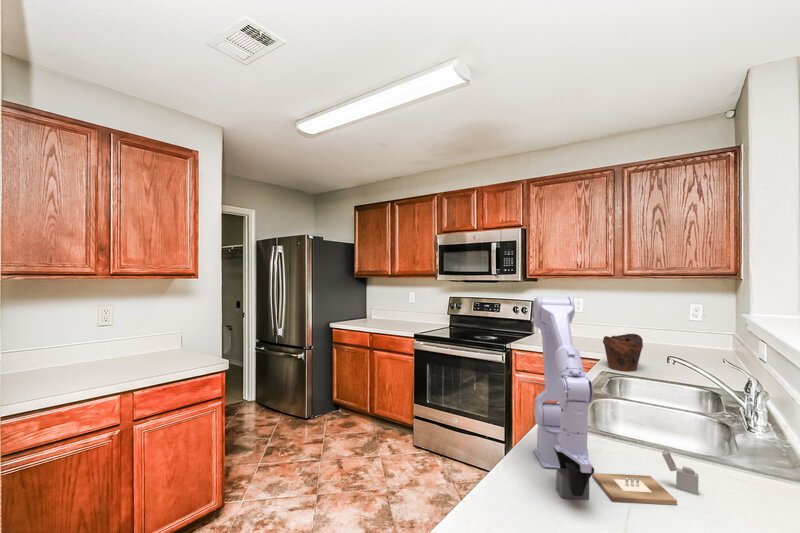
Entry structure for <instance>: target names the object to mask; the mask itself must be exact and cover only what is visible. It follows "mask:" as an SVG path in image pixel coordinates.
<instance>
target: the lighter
mask: <svg viewBox="0 0 800 533" xmlns="http://www.w3.org/2000/svg"><path fill="white" fill-rule="evenodd" d="M661 455H662V457H663V459H664V461H665V464H666V465H667V468H668V470H669V471H670V472H676V478H675V480H676V481H675V488H676V490H679V491H683V492H686V493H689V494H692V495H695V496H699V473H696V471H695V470H694V469H692V468H691V467H687V466H684V465H683V466H682V469H681V468H679V467H677V465H676V464H675V461H674V459H673V457H672V455H671V453H670V452H669V450H663V451H662V452H661Z"/></svg>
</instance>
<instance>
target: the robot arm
mask: <svg viewBox="0 0 800 533" xmlns="http://www.w3.org/2000/svg"><path fill="white" fill-rule="evenodd" d="M575 306H576V305H575V302H574V300H573V298H572V297H571V296H569V297H556V296H554V297H552V296H551V297H549V296H548V297H547V296H536V297H535V298H534V300H533V308H532V309H533V310H532V312H533V323H534V326H535V327H536V328H537V329H539V330H540V333H541V339H542V340H541V341H542V358H543V359H542V360H543V378H544V389H543V390H542V391H541V392H540V393H537V395H536V396H535V398H534V408H533V411H534V412H533V413H534V420H535V423H536V425H537V430H536V431H537V432H536V435H537V436H536V448H533V452H534V454H535V456H536V458H537V459H538V461H539V462H540V464H541V466H542V467H543V468H545V469H546V468H547V469H557V468H566V469H568V472H569V476H570V483H571V491H572V494H573V496H583V494H584V491H585V487H586V484H587V482H588V480H589V481H590V478H591V477H592V474H593V473H595V468H594V467H593V466H592V465H593V464H592V463H591V461H590V455H589V449H588V431H589V430H588V429H589V428H588V426H589V404H590V403H592V401H593V399H594V386H593V382H592V380H591V378H590V376H589V375H588V373H587V372H585V369H584V365H583V362H582V357H581V355H580V351H579V350H578V348H576V347H574V344H573V338H572V337H573V336H572V331H571V323H572V322H573V318H574V316H575V312H576V308H575ZM548 401H549V402H548Z"/></svg>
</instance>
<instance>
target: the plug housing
mask: <svg viewBox="0 0 800 533" xmlns="http://www.w3.org/2000/svg"><path fill="white" fill-rule="evenodd" d="M555 477H556V483H555V490H556V491H557V493H558V496H559V497H560V499H563V500H564V499H566V500H581V501H582V500H584V501H589V500H590V479H589V480H588V482H587V484H586V487H585V491H584V494H583V496H573V494H572V491H571V483H570V476H569V472H568V469H566V468H556V476H555Z"/></svg>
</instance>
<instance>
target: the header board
mask: <svg viewBox="0 0 800 533" xmlns="http://www.w3.org/2000/svg"><path fill="white" fill-rule="evenodd" d="M591 477H592V479H593V480H594V481H595V482H596V484H597V485H598V486H599V487H600V489H601V490H602V491H603V492H604V494H605V495H606V496H607V497H608V499H609V500H610V501H611V502H613V503H614V502H615V503H631V504H632V503H633V504H646V505H647V504H648V505H649V504H650V505H651V504H652V505H670V506H672V505H673V506H677V505H678V499H676V497H674V496H673V495H672V494H671V493H669V492H668V491H667V490H666V488H664V487H663V486H662V485H661V484H660V483H659V482H657V480H655V478H653V477H652V476H651V475H641V474H622V473H621V474H620V473H619V474H617V473H599V472H594V473H593V474H592V475H591Z"/></svg>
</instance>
